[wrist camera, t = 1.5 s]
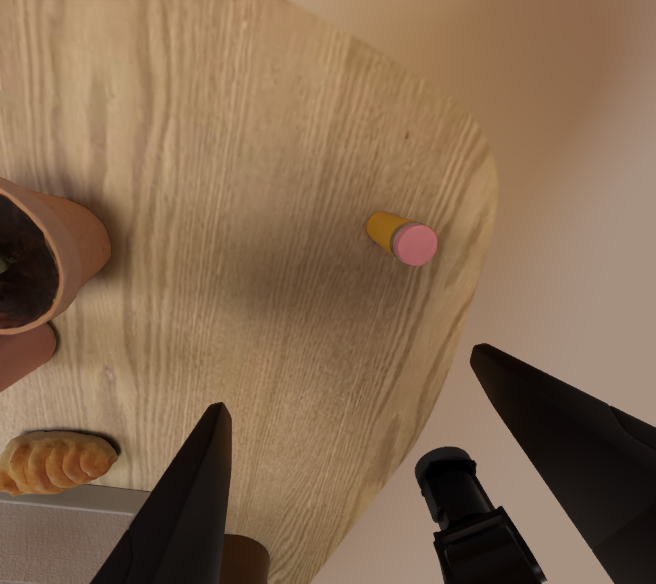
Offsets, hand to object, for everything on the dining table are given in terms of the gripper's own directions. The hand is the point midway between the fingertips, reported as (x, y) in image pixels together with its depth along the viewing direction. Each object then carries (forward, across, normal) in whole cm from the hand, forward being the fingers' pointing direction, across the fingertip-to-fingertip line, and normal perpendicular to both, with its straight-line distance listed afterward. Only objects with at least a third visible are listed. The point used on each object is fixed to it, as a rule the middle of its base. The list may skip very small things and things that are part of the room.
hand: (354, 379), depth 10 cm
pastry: (+14, +29, +19) cm, 38 cm away
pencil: (+15, -6, +1) cm, 16 cm away
